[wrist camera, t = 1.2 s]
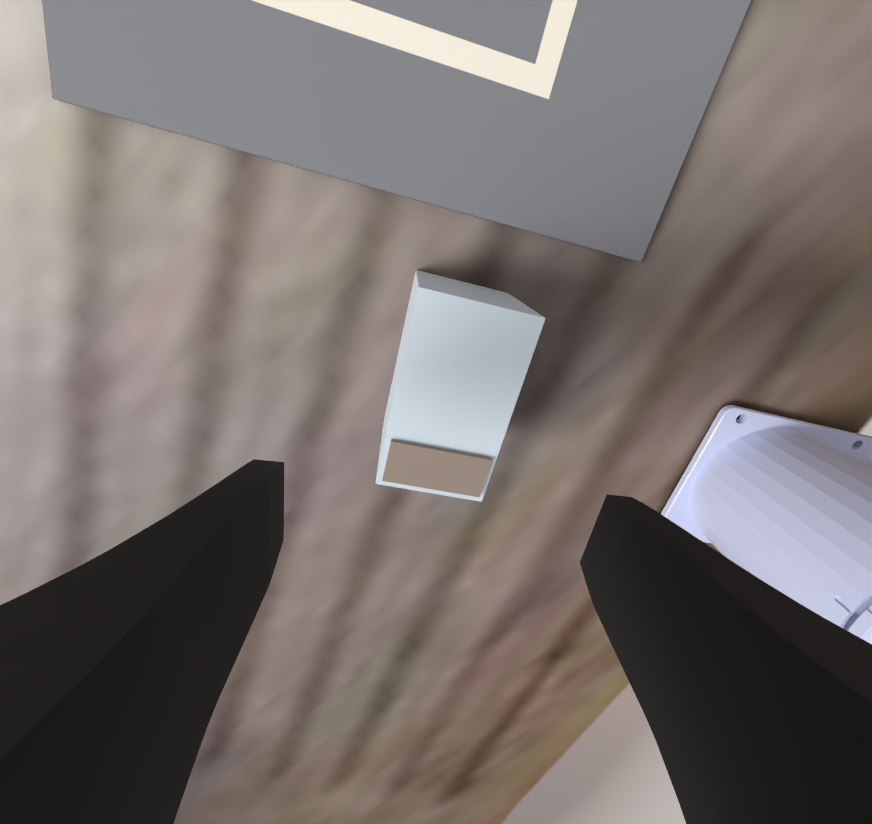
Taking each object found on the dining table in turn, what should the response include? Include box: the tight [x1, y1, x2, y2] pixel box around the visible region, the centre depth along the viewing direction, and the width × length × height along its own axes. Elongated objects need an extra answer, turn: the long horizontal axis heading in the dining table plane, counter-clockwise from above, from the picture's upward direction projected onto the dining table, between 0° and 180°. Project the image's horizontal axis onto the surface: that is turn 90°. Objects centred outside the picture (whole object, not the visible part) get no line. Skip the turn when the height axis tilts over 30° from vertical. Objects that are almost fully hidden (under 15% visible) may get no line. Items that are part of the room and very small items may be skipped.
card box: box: [376, 270, 546, 502], centre depth 16 cm, size 4×7×6 cm, turn 166°
